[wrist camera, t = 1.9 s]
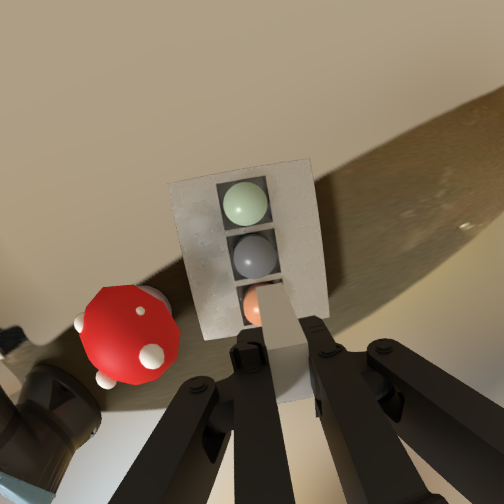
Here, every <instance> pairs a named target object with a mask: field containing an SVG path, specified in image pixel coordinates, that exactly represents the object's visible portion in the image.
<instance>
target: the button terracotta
mask: <svg viewBox="0 0 504 504" xmlns="http://www.w3.org/2000/svg"><path fill="white" fill-rule="evenodd" d="M266 285H271V284H268V283H257V284H254V285H252V286H251V287H250V288H248V290H247V291H246V292H245V294H244V298H243V305H244V314H245V316H246V318H247V319H248V321H250V322H251V323H252V324H254V325H257V326H262V324H261V318H260V312H259V306H258V300H257V294H256V288H255V287H260V286H266Z"/></svg>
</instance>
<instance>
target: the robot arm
mask: <svg viewBox="0 0 504 504" xmlns="http://www.w3.org/2000/svg"><path fill="white" fill-rule="evenodd" d="M255 288H256V294H257V300H258V306H259V312H260V318H261V324H262V326H261V327H255V328H249V329H243V330H241V331H240V332H239V334H238V335H237V344H235V345H234V346H233V347H232V348H231V349H230V352H229V353H230V357H231V361H232V365H233V369H234V373H233V374H232V375H231V376H229V377H228V378H226V379H223V380H221V381H218V382H215V381H214V379H212V378H210V377H207V376H196V377H193V378H190V379H188V380H187V381H185V382H184V383H183V384H182V385H181V386H180V388H179V390H178V391H177V393H176V395H175V396H174V398H173V400H172V401H171V403H170V404H169V406H168V408H167V409H166V411H165V413H164V414H163V416H162V418H161V419H160V421H159V423H158V424H157V426H156V427H155V429H154V431H153V432H152V434H151V435H150V437H149V438H148V440H147V442H146V443H145V445H144V447H143V448H142V450H141V451H140V453H139V455H138V456H137V458H136V460H135V461H134V463H133V464H132V466H131V467H130V469H129V471H128V472H127V474H126V476H125V477H124V479H123V480H122V482H121V483H120V485H119V487H118V488H117V490H116V491H115V493H114V494H113V496H112V498H111V499H110V501H109V502H108V504H206V503H207V501H208V498H209V495H210V493H211V490H212V487H213V485H214V482H215V479H216V476H217V473H218V471H219V468H220V465H221V462H222V459H223V457H224V454H225V451H226V448H227V445H228V442H229V439H230V436H231V431H232V430H234V491H235V492H234V495H235V504H295V498H294V493H293V488H292V482H291V477H290V472H289V466H288V461H287V455H286V450H285V444H284V439H283V433H282V428H281V423H280V417H279V412H278V406H277V404H280V403H286V402H291V401H296V400H300V399H305V398H310V397H313V394H312V390H313V393H314V396H315V410H316V417H319V418H320V421H321V424H322V427H323V430H324V433H325V436H326V439H327V442H328V445H329V449H330V452H331V455H332V458H333V461H334V464H335V467H336V470H337V473H338V476H339V479H340V483H341V486H342V489H343V492H344V495H345V498H346V501H347V504H449V503H448V502H447V501H446V499H445V498H444V497H443V496H441V495H440V494H432V493H431V492H429V490H428V489H427V487H426V486H425V484H424V482H423V480H422V478H421V476H420V475H419V473H418V471H417V470H416V467H415V466H414V464H413V462H412V461H411V459H410V457H409V455H408V453H407V451H406V450H405V448H404V446H403V445H402V443H401V441H400V439H399V438H398V436H399V437H400V438H401V439H402V440H403V441H404V442H405V443H406V444H407V445H408V446H410V447H411V448H412V449H413V450H414V451H415V452H416V453H417V454H418V455H419V456H420V457H421V458H422V459H424V460H425V461H426V462H427V463H428V464H429V465H430V466H431V467H432V468H433V469H434V470H435V471H437V472H438V473H439V474H440V475H441V476H442V477H443V478H444V479H445V480H446V481H447V482H449V483H450V484H451V485H452V486H453V487H454V488H455V489H456V490H458V491H459V492H460V493H461V494H462V495H463V496H464V497H465V498H466V499H468V500H469V501H470V502H471V503H472V504H504V408H502V407H501V406H499V405H498V404H496V403H494V402H493V401H491V400H490V399H488V398H486V397H485V396H483V395H482V394H480V393H479V392H477V391H475V390H474V389H472V388H471V387H469V386H468V385H466V384H464V383H463V382H461V381H460V380H458V379H456V378H455V377H453V376H452V375H450V374H448V373H447V372H445V371H444V370H442V369H441V368H439V367H437V366H436V365H434V364H433V363H431V362H429V361H428V360H426V359H425V358H423V357H421V356H420V355H418V354H417V353H415V352H413V351H412V350H410V349H409V348H407V347H405V346H404V345H402V344H401V343H399V342H397V341H395V340H393V339H386V338H384V339H378V340H375V341H373V342H371V343H370V344H369V345H368V347H367V351H366V352H349V351H347V350H346V348H345V347H344V346H343V345H341V344H338V343H336V342H335V341H334V339H333V337H332V336H331V334H330V332H329V330H328V329H327V327H326V325H325V324H324V322H323V320H322V319H321V318H319V317H317V316H315V315H313V316H308V317H303V318H297V316H296V314H295V311H294V309H293V307H292V305H291V302H290V300H289V298H288V295H287V293H286V291H285V288H284V286H283V284H282V283H277V284H271V285H266V286H260V287H255ZM101 420H102V417H101V412H100V409H99V407H98V405H97V403H96V401H95V400H94V398H93V397H92V396H91V394H90V393H89V392H88V391H87V390H86V389H85V388H84V387H83V386H82V385H81V384H80V383H79V382H78V381H77V380H75V379H74V378H73V377H71V376H70V375H69V374H67V373H65V372H64V371H62V370H60V369H58V368H55V367H52V366H48V365H38V366H35V367H34V368H33V369H32V370H31V371H30V372H29V373H28V374H27V375H26V377H25V379H24V383H23V386H22V389H21V392H20V395H19V398H18V401H17V404H16V405H14V404H13V403H12V401H11V400H10V398H9V397H8V396H7V394H6V393H5V391H4V390H3V388H2V387H1V385H0V494H1V495H3V496H4V497H6V498H7V499H9V500H11V501H13V502H15V503H16V504H51V502H52V500H53V499H54V498H55V497H56V495H55V494H56V492H57V490H58V487H59V485H60V483H61V480H62V478H63V476H64V474H65V472H66V470H67V467H68V465H69V463H70V461H71V459H72V457H73V455H74V453H75V451H76V450H77V449H78V448H79V447H81V446H82V445H83V444H84V443H86V442H87V441H88V440H89V439H90V438H92V437H93V436H94V435H95V434H96V432H97V430H98V428H99V426H100V424H101ZM397 435H398V436H397Z"/></svg>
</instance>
